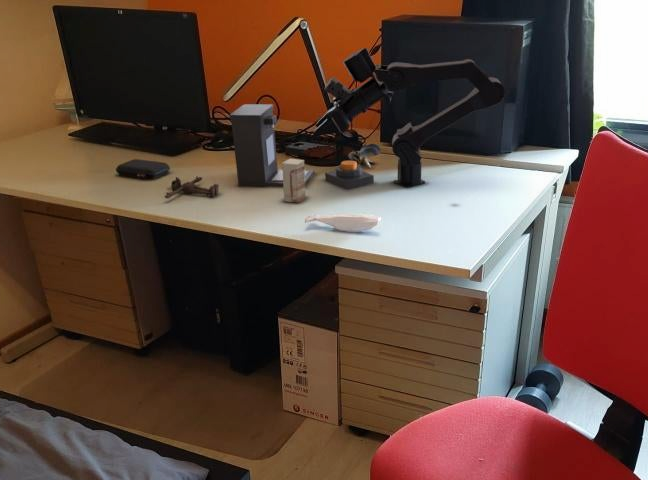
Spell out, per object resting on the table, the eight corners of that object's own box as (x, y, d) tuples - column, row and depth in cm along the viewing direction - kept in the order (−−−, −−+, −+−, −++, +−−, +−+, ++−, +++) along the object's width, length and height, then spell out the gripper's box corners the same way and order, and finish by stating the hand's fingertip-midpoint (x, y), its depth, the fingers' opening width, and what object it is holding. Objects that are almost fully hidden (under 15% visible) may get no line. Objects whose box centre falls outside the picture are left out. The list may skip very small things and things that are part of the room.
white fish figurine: (376, 237, 165) (375, 220, 163) (304, 230, 170) (302, 213, 168) (383, 229, 169) (383, 212, 167) (312, 222, 174) (311, 206, 172)
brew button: (360, 169, 199) (359, 162, 198) (347, 172, 197) (346, 165, 196) (350, 165, 202) (350, 159, 201) (338, 168, 200) (337, 162, 199)
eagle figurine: (372, 168, 207) (386, 155, 213) (358, 147, 205) (373, 134, 211) (355, 179, 213) (369, 166, 218) (341, 158, 211) (356, 145, 216)
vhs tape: (335, 153, 227) (335, 146, 226) (321, 159, 222) (320, 152, 221) (300, 147, 234) (300, 141, 233) (285, 153, 229) (284, 146, 228)
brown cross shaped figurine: (197, 194, 185) (149, 184, 189) (198, 210, 187) (151, 200, 191) (231, 175, 199) (186, 166, 203) (232, 190, 201) (187, 181, 205)
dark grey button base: (373, 183, 200) (373, 168, 197) (347, 189, 195) (347, 175, 193) (351, 174, 207) (350, 160, 205) (325, 180, 203) (324, 166, 201)
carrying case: (111, 176, 212) (150, 182, 206) (109, 166, 210) (148, 171, 204) (135, 167, 220) (173, 172, 214) (133, 157, 218) (172, 161, 212)
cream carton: (298, 203, 187) (296, 164, 181) (283, 201, 188) (280, 163, 183) (307, 197, 191) (304, 159, 185) (292, 195, 192) (289, 157, 187)
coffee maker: (314, 173, 209) (310, 104, 198) (304, 188, 197) (299, 115, 187) (251, 172, 212) (244, 104, 201) (237, 186, 200) (229, 115, 190)
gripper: (348, 63, 191) (301, 96, 196) (345, 75, 176) (293, 111, 181) (370, 100, 196) (323, 132, 201) (369, 115, 180) (318, 149, 185)
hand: (315, 130), depth 192 cm, fingers open, 9 cm apart
